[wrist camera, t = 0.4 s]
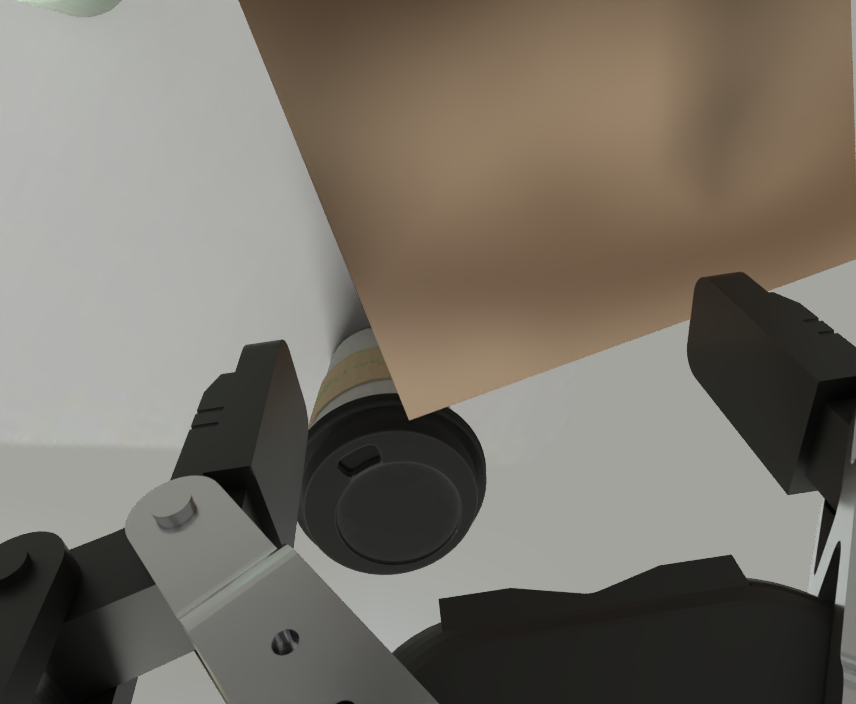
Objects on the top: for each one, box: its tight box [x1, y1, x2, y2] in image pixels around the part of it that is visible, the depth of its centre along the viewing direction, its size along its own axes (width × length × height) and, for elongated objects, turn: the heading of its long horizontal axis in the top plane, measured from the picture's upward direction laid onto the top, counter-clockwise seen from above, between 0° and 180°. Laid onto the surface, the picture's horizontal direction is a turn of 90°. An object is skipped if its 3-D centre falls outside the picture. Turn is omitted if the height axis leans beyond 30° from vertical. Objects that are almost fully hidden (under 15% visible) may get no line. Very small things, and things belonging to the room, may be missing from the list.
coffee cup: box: [297, 328, 486, 575], centre depth 34 cm, size 9×9×15 cm
